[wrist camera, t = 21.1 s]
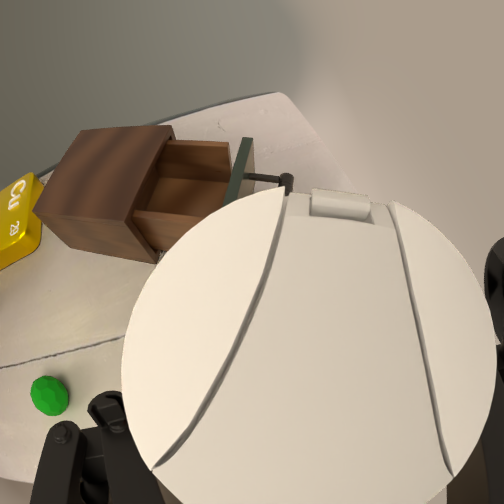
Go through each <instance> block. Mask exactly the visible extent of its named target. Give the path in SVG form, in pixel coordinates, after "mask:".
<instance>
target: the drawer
mask: <svg viewBox="0 0 504 504" xmlns="http://www.w3.org/2000/svg"><path fill="white" fill-rule="evenodd" d="M255 181H264V182H272V183H279V184H278V187H282V186H285V196H289V194H290V192H292V191H293V183H294V177H293V175H291V174H289V173H283V174H281V175H280V177H279V176H273V175H264V174H256V173H255V167H254V147H253V138H248V137H243V138H242V141H241V144H240V147H239V151H238V154H237V157H236V161H235V164H234V167H233V169H232V162H231V154H230V147H229V142H215V141H193V140H168V141H167V143H166V145H165V147H164V149H163V150H162V152H161V154H160V156H159V158H158V160H157V162H156V164H155V166H154V168H153V171H152V173H151V175H150V177H149V179H148V181H147V183H146V185H145V187H144V190H143V192H142V194H141V196H140V199H139V201H138V203H137V205H136V208H135V210H134V212H133V215H132V217H131V220H132V222H133V223H134V225H135V226H136V227H137V229H138V230H139V232H140V233H141V235H142V236H143V237H144V239H145V240H146V242H147V243H148V244H149V246H150V247H151V248H152V249H158V250H164V251H169V250H170V249H171V248H172V247H173V246H174V245H175V244H176V242H177V241H178V240H179V239H180V238H181V237H182V236H183V235H184V234H185V233H186V232H188V231H189V230H190V229H191V228H193V227H194V226H195V225H197V224H198V223H199V222H201V221H202V220H203V219H205V218H206V217H207V216H209V215H210V214H212V213H214V212H216V211H217V210H219V209H221V208H223V207H225V206H226V205H228V204H230V203H232V202H234V201H236V200H239V199H241V198H244V197H247V196H249V195H252V194H253V190H254V185H255Z"/></svg>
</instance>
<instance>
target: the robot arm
mask: <svg viewBox="0 0 504 504" xmlns="http://www.w3.org/2000/svg"><path fill="white" fill-rule="evenodd" d="M503 295H504V271H503ZM496 354H497V367H496V380H495V389H494V394H493V398H492V403H491V407H490V411H489V415H488V418H487V420H486V423H485V425H484V428H483V430H482V433H481V435H480V438H479V440H478V442H477V444H476V446H475V448H474V449H473V451H472V453H471V455H470V456H469V458H468V460H467V461H466V463H465V464H464V466H463V467H462V469H461V470H460V471H459V473H458V474H457V475H456V476H455V478H454V477H453V479H452V481H451V482H450V483H448V484H447V504H504V337H503V339H502V342H501V344H499V345H496ZM87 411H88V413H89V414H90V416H91V417H92V418H93V420H94V421H95V423H96V424H97V425H98V426H97V427H92V428H87V429H82V430H80V428H79V427H78V426H77V425H76V424H75V423H74V422H72V421H61V422H59V423H57V424H55V425H54V426H53V427H52V428H51V429H50V430H49V432H48V434H47V437H46V440H45V443H44V447H43V450H42V454H41V457H40V461H39V465H38V469H37V473H36V477H35V481H34V486H33V490H32V495H31V500H30V504H183V503H182V502H181V501H180V500H179V499H178V498H177V497H176V496H174V495H173V494H172V493H171V492H170V491H169V490H168V489H167V488H166V487H165V486H164V485H163V484H162V483H161V481H160V480H159V479H158V478H157V477H156V476H155V475H154V474H153V473H152V471H153V470H151V471H150V470H149V468H148V467H147V465H146V464H145V462H144V460H143V459H142V457H141V455H140V453H139V450H138V448H137V446H136V444H135V441H134V439H133V436H132V434H131V431H130V429H129V425H128V421H127V417H126V412H125V408H124V403H123V398H122V393H121V392H118V391H106V392H103V393H101V394H99V395H97V396H96V397H95V398H93V399H92V401H91V402H90V404H89V405H88V410H87Z"/></svg>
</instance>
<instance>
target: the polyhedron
mask: <svg viewBox="0 0 504 504" xmlns="http://www.w3.org/2000/svg"><path fill="white" fill-rule="evenodd" d="M30 394H31V398H32V401H33V403H34V405H35V406H36V408H37V409H38V410H40V411H41V412H43V413H44V414H46V415H48V416H57V415H60V414H61V413H63V412H64V411H65V410H66V408H67V405H68V394H67V390H66V389H65V387H64V385H63V384H62V383H61V382H60V381H59V380H57V379H56V378H54V377H51V376H42V377H40V378H38V379H36V380H35V381H34V382H33V384H32V387H31V393H30Z"/></svg>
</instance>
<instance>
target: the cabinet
mask: <svg viewBox="0 0 504 504" xmlns="http://www.w3.org/2000/svg"><path fill="white" fill-rule="evenodd" d="M168 140H176V138H175V134H174V131H173V128H172V125H153V126H130V127H113V128H101V129H90V130H82V131H80V133H79V134H78V135H77V137H76V138H75V140H74V141H73V143H72V144H71V146H70V147H69V148H68V150H67V152H66V153H65V155H64V156H63V158H62V159H61V161H60V162H59V164H58V165H57V167H56V169H55V170H54V172H53V174H52V175H51V177H50V179H49V180H48V182H47V184H46V186H45V187H44V189H43V191H42V193H41V194H40V196H39V198H38V200H37V202H36V204H35V206H34V208H33V210H32V212H33V213H34V214H35V215H36V216H37V217H38V218H39V219H40V220H41V221H42V222H43V223H44V224H45V225H46V226H47V227H48V228H49V229H50V230H51V231H52V232H53V233H55V234H56V235H57V236H58V237H59V238H60V239H61V240H62V241H63V242H64V243H65V244H66V245H68V246H69V247H70V248H73V249H78V250H83V251H88V252H93V253H99V254H104V255H109V256H114V257H119V258H125V259H130V260H135V261H141V262H146V263H152V264H157V261H158V258H159V255H160V252H161V250H158V249H152V248H151V247H150V246H149V244H148V243H147V242H146V240H145V239H144V237H143V236H142V235H141V233H140V232H139V230H138V229H137V227H136V226H135V225H134V223H133V222H132V220H131V217H132V215H133V212H134V210H135V208H136V205H137V203H138V201H139V199H140V196H141V194H142V192H143V190H144V187H145V185H146V183H147V181H148V179H149V177H150V175H151V173H152V171H153V168H154V166H155V164H156V162H157V160H158V158H159V156H160V154H161V152H162V150H163V149H164V147H165V145H166V143H167V141H168Z"/></svg>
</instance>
